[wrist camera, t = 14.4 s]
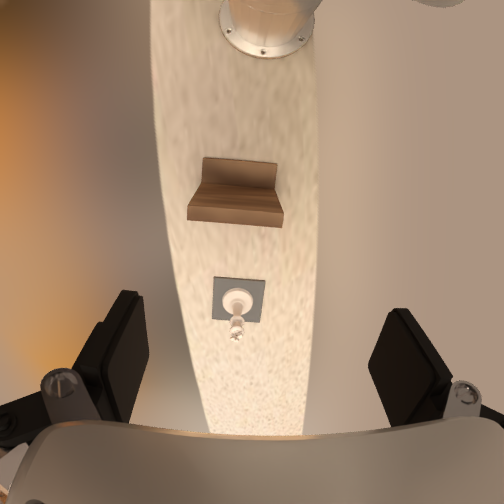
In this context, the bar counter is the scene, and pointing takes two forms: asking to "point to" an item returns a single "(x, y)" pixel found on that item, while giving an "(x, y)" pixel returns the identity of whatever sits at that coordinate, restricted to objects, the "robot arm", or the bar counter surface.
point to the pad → (229, 283)
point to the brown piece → (237, 194)
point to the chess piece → (237, 309)
